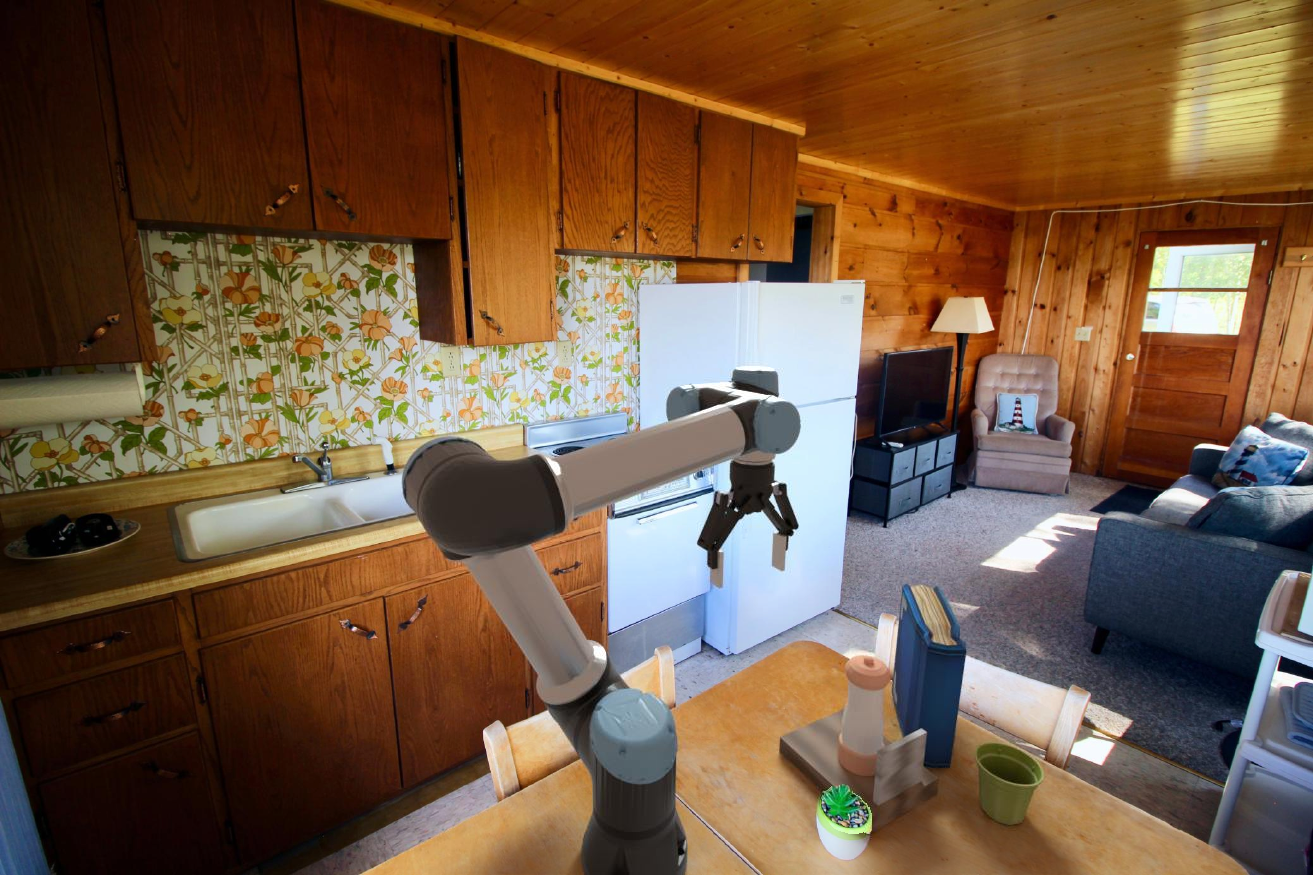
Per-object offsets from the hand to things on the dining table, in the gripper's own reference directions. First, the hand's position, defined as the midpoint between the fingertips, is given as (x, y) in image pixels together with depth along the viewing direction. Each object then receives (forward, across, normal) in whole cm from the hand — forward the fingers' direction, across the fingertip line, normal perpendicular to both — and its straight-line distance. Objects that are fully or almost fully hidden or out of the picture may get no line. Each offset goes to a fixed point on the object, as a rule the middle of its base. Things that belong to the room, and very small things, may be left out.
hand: (748, 576), depth 108 cm
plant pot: (+31, -24, +35) cm, 52 cm away
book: (+31, -28, +17) cm, 45 cm away
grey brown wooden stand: (+31, -10, +18) cm, 37 cm away
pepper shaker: (+28, -10, +19) cm, 35 cm away
